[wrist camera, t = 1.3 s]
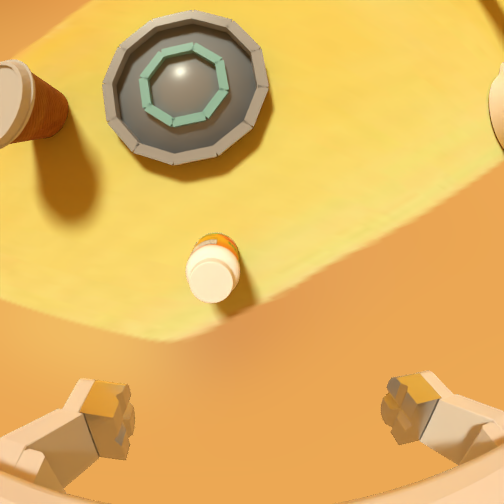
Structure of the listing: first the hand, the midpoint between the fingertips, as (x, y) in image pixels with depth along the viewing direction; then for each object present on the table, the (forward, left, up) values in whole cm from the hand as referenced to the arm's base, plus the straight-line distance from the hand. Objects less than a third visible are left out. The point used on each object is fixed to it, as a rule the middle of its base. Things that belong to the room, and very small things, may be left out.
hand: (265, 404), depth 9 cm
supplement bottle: (+3, +3, -30) cm, 30 cm away
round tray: (+3, -17, -30) cm, 34 cm away
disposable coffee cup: (+21, -19, -30) cm, 41 cm away
